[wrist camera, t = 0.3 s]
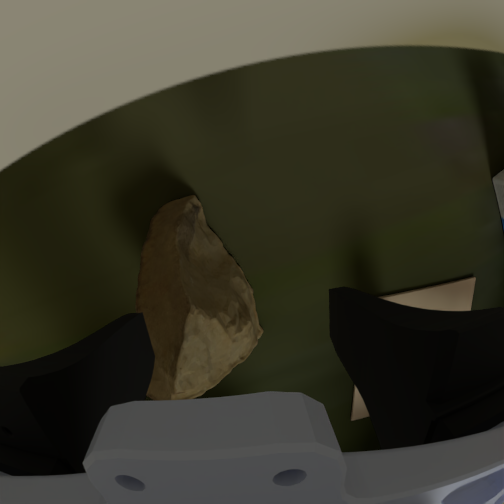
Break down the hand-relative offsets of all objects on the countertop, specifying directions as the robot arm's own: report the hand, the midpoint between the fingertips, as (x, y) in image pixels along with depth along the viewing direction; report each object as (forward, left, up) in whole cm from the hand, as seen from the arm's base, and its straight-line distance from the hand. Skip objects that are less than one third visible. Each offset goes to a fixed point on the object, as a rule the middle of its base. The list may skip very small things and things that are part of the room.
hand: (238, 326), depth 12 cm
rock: (-1, +2, -10) cm, 10 cm away
